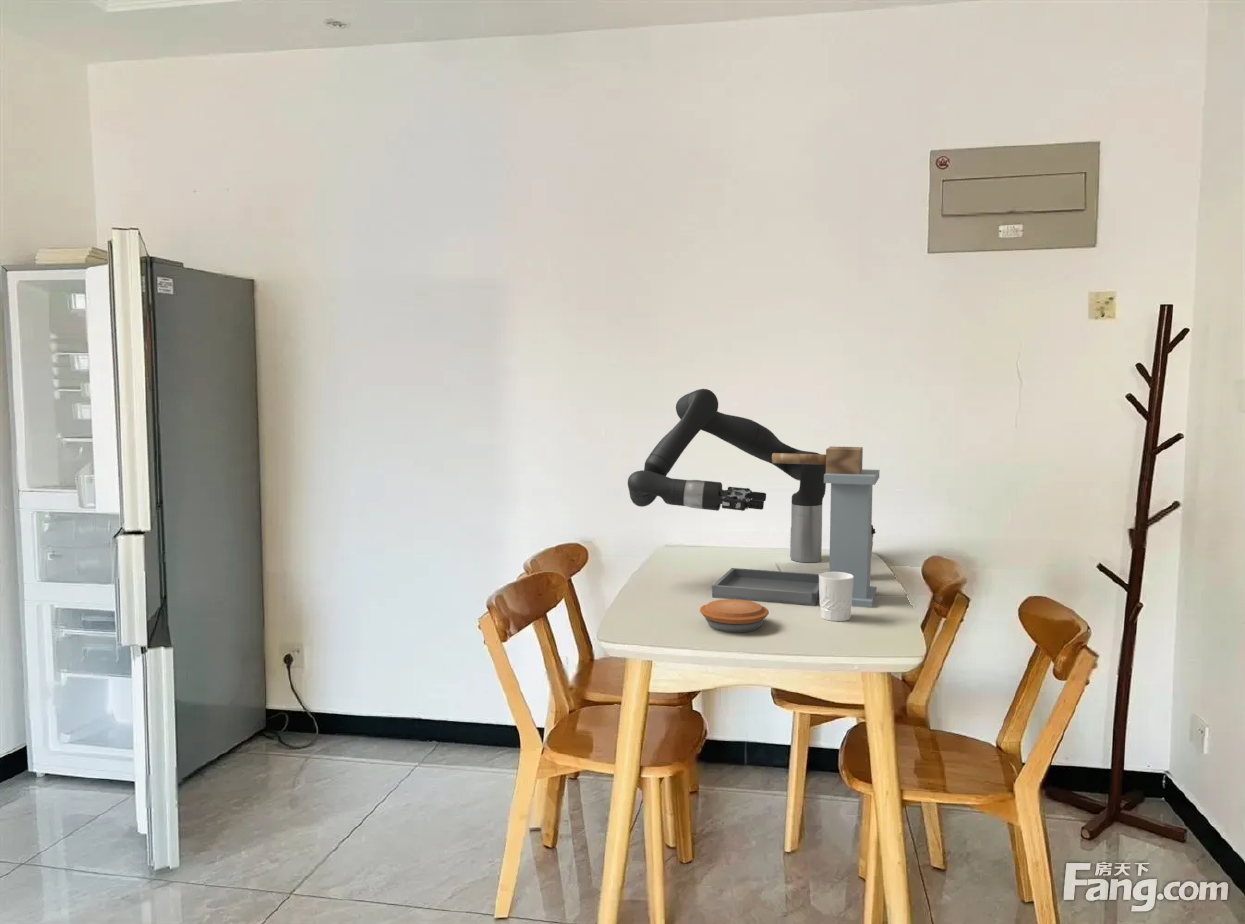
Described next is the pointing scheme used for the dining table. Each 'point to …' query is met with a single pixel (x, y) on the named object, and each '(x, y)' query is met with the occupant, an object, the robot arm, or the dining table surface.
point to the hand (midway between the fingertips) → (764, 501)
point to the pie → (734, 615)
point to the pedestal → (852, 530)
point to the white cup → (835, 595)
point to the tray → (768, 586)
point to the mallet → (827, 459)
